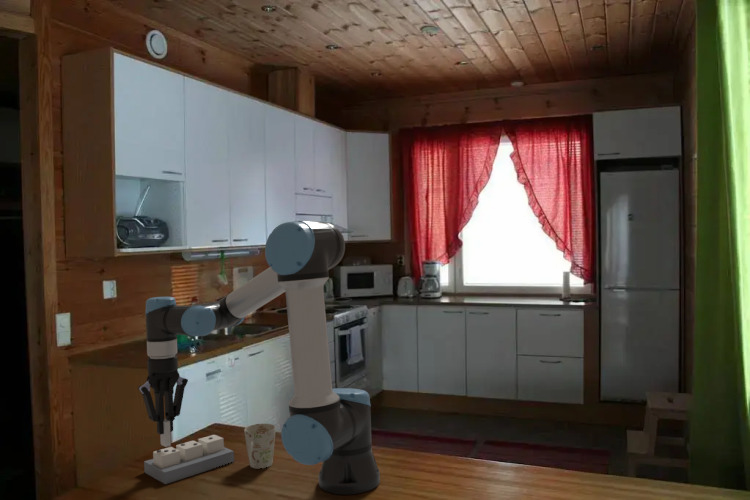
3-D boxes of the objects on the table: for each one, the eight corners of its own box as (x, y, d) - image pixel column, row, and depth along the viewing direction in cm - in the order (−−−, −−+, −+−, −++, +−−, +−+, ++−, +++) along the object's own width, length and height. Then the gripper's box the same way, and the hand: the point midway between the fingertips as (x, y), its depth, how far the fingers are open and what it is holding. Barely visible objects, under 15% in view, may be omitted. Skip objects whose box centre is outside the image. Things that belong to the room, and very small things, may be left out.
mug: (280, 459, 169) (278, 423, 169) (267, 477, 157) (266, 438, 156) (250, 459, 170) (249, 423, 170) (236, 476, 157) (234, 438, 157)
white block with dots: (180, 465, 161) (179, 450, 161) (162, 470, 157) (161, 455, 157) (171, 460, 164) (170, 445, 164) (153, 466, 161) (153, 450, 161)
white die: (202, 458, 165) (202, 443, 165) (185, 463, 162) (185, 448, 162) (193, 454, 169) (193, 439, 169) (176, 459, 165) (176, 444, 165)
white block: (224, 451, 170) (223, 437, 170) (207, 456, 166) (207, 442, 166) (214, 447, 174) (214, 433, 173) (198, 452, 170) (198, 438, 170)
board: (234, 461, 168) (233, 451, 168) (165, 484, 154) (164, 472, 154) (211, 452, 177) (211, 441, 177) (144, 472, 163) (144, 461, 163)
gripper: (178, 350, 167) (181, 435, 168) (131, 358, 158) (135, 448, 159) (192, 353, 162) (195, 441, 163) (144, 361, 153) (148, 455, 154)
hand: (165, 445), depth 161 cm, fingers closed
